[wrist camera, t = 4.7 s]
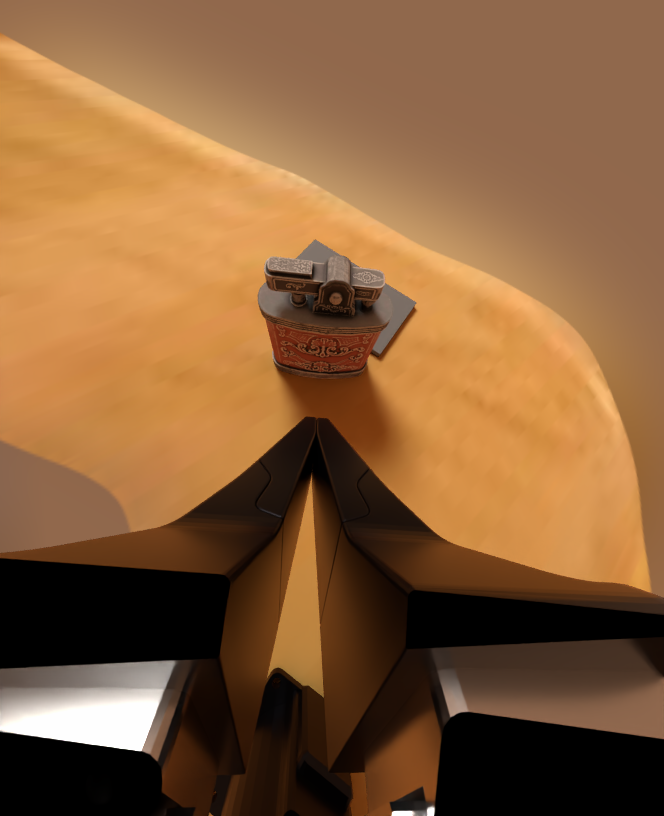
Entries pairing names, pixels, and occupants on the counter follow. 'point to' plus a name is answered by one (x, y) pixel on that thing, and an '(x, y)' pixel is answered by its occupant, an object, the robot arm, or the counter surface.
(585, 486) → the counter surface
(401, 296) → the mat
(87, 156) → the counter surface
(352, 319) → the lighter
